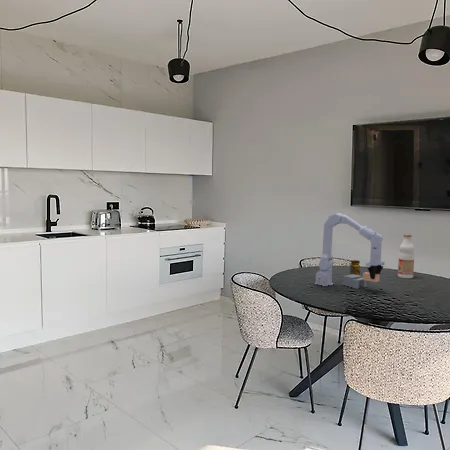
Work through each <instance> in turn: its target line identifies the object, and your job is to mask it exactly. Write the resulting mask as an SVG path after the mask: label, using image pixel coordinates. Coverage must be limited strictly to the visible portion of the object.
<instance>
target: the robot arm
mask: <svg viewBox="0 0 450 450" xmlns="http://www.w3.org/2000/svg"><path fill="white" fill-rule="evenodd" d="M339 224H342V225H343V224H344V225H348V226H350V227H352V228H353V229H355V230H356V231H358V233H359V235H360V236H362V237H363V238H365V239H366V240H368V241H369V242H370V256H369V257H370V259H369V260H370V261H369V262H367V263H365V268H367V270H368V273H370V278H371V279H375V274H379V276H381V275H380V274H381V272H382V270H383V269H384V266H385V261H384V260H382V242H383V240H384V236H383V235H382V234H381V233H379V232H377V231H376V230H375V231H374V230H373V229H371V228H370V226H369V225H361V224H360V223H358V222H357V221H355V220H354V219H353V218H351V217H350V216H348V215H347V214H344V213H342V212H335V213H332V214H330V215H329V216H328V218H327V219H326V221H325V223H324V225H323V236H322V238H323V239H322V253H321V255H320V260H319V261H318V267H319V270H318V271H316V274H315V282H314V284H315V285H317V284H318V286H321V285H322V286H321V287H329V286H333V284H334V285H335V283H333V282H332V281H333V279H332V277H333V268H332V267H333V266H334V263H335V262H334V260H333V255H332V254H333V253H332V250H333V249H332V248H333V229H334V228H335V227H336V226H337V225H339ZM328 285H329V286H328Z"/></svg>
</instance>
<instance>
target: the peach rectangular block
mask: <svg viewBox="0 0 450 450" xmlns="http://www.w3.org/2000/svg"><path fill="white" fill-rule="evenodd" d="M362 278H363V280H366V281H367V282H373V283H378V282H380V275H379V274H375V279H371V278H370V273H369V271H368V272H367V271H366V272H362Z"/></svg>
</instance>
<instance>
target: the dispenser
mask: <svg viewBox="0 0 450 450" xmlns="http://www.w3.org/2000/svg"><path fill="white" fill-rule="evenodd" d="M342 278H343V279H342V280H343V281H342V285H345V286H344V287H347V286H349V287H348V288H351V287H352V289H356V290H357V289H358V290H359V289H360V287H361V288H367V287H368V286H367V285H368V284H367V283H368V281H366V280H363V275H360V276H359V275H355V274H352V275H350V274H348V275H343V276H342Z"/></svg>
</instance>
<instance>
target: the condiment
mask: <svg viewBox="0 0 450 450" xmlns="http://www.w3.org/2000/svg"><path fill="white" fill-rule="evenodd" d="M360 263H361V262H360V260H358V259H352V260H351V261H350V266H349V275H352V274H355V275H359V276H361V274H360V273H361V264H360Z"/></svg>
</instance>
